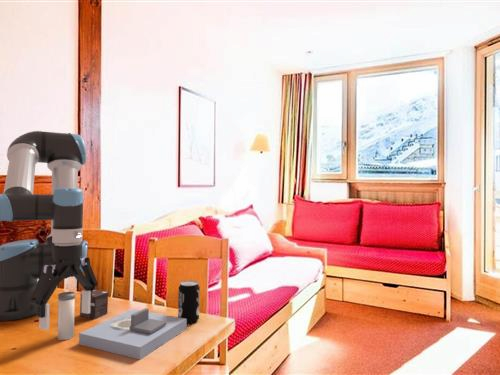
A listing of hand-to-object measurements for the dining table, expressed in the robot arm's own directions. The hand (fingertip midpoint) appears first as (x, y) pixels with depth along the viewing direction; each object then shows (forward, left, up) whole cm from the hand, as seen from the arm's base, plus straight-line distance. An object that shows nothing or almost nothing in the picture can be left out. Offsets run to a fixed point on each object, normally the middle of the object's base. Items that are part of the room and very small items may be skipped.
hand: (66, 320), depth 100 cm
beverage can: (+24, +25, -5) cm, 35 cm away
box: (-6, +16, -5) cm, 18 cm away
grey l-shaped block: (+21, +9, -1) cm, 23 cm away
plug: (0, 0, -5) cm, 5 cm away
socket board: (+17, +9, -5) cm, 19 cm away
